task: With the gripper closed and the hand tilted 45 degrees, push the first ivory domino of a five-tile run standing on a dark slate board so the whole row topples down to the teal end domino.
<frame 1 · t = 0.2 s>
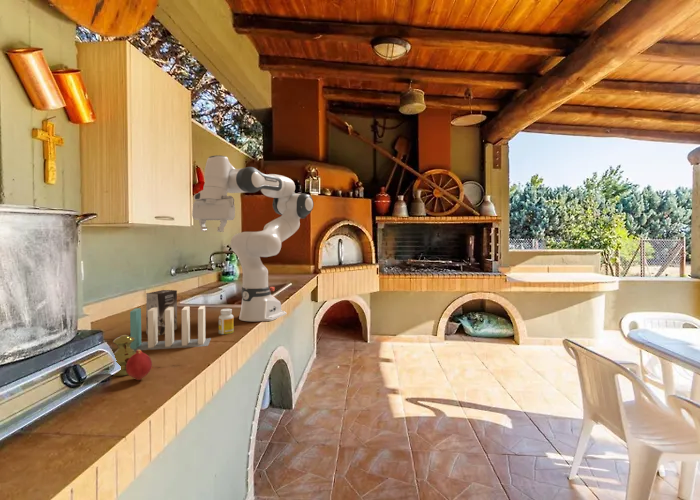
hand: (211, 231, 138), 39 cm above the counter, tool pointing down, fingers open, 8 cm apart
domino 1: (201, 342, 121), point 1 cm above the counter, touching slate board
slate board: (169, 347, 118), on the counter
olive waisted piece: (124, 372, 97), on the counter
supplement bottle: (226, 335, 134), on the counter
coffee box: (162, 334, 134), on the counter
domino 3: (169, 344, 118), point 1 cm above the counter, touching slate board
domino 5: (136, 346, 116), point 1 cm above the counter, touching slate board
domino 4: (153, 345, 117), point 1 cm above the counter, touching slate board
onion: (139, 380, 92), on the counter
domino 2: (185, 343, 120), point 1 cm above the counter, touching slate board
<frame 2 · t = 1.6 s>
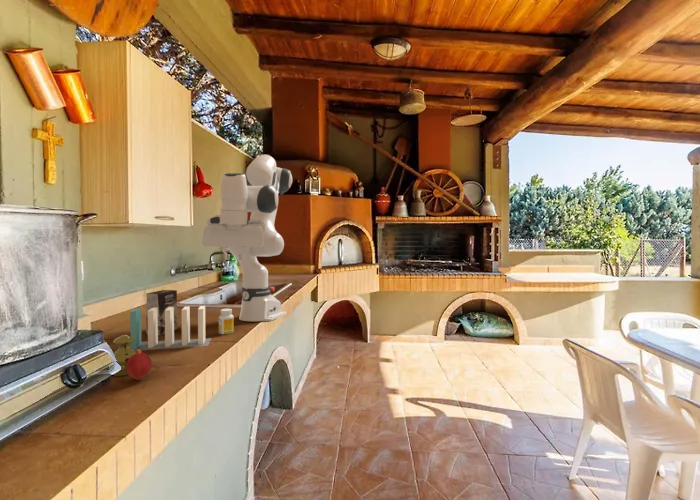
hand: (234, 259, 123), 29 cm above the counter, tool pointing down, fingers open, 3 cm apart
nothing on the counter moved.
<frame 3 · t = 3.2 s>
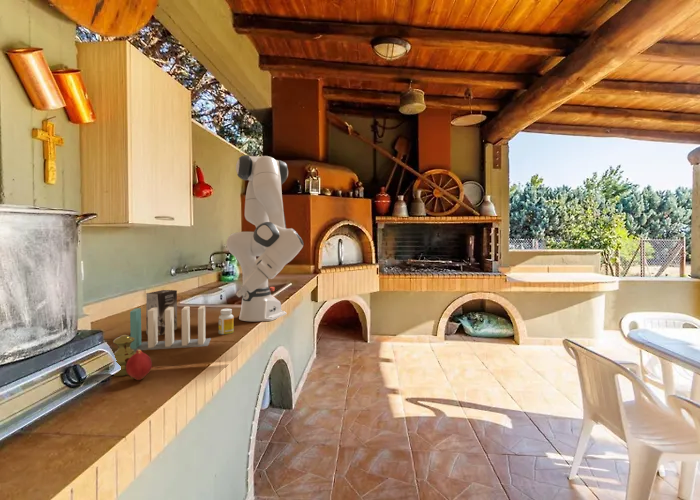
hand: (237, 295, 123), 17 cm above the counter, tool tilted 45°, fingers closed
nothing on the counter moved.
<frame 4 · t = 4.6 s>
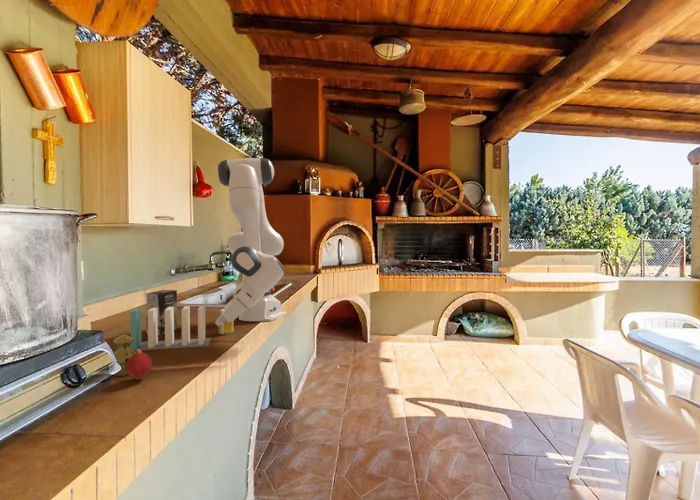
hand: (217, 323, 122), 7 cm above the counter, tool tilted 45°, fingers closed
nothing on the counter moved.
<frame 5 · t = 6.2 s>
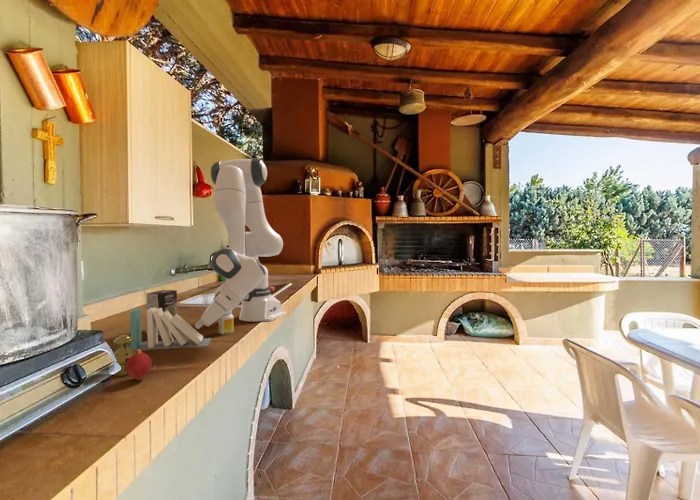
hand: (196, 326, 120), 6 cm above the counter, tool tilted 45°, fingers closed
domino 1: (200, 340, 121), point 2 cm above the counter, tilted 45°, touching domino 2
domino 3: (169, 343, 118), point 1 cm above the counter, tilted 18°, touching domino 2, slate board
domino 2: (185, 342, 120), point 1 cm above the counter, tilted 33°, touching domino 1, domino 3, slate board
everything else where it was.
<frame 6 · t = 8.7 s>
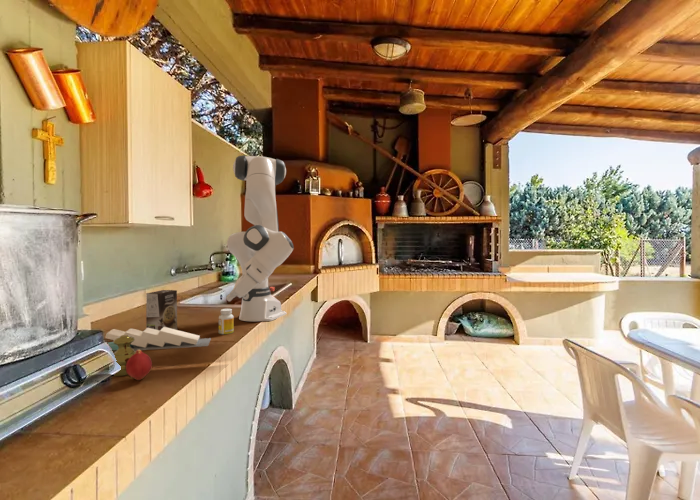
hand: (227, 299, 123), 15 cm above the counter, tool tilted 45°, fingers closed
domino 1: (198, 340, 121), point 2 cm above the counter, tilted 71°, touching domino 2
domino 3: (165, 342, 118), point 2 cm above the counter, tilted 71°, touching domino 2, domino 4, slate board
domino 5: (131, 343, 115), point 2 cm above the counter, tilted 95°, touching domino 4, slate board
domino 4: (148, 343, 117), point 2 cm above the counter, tilted 71°, touching domino 3, domino 5
domino 2: (182, 341, 119), point 2 cm above the counter, tilted 71°, touching domino 1, domino 3, slate board
everything else where it was.
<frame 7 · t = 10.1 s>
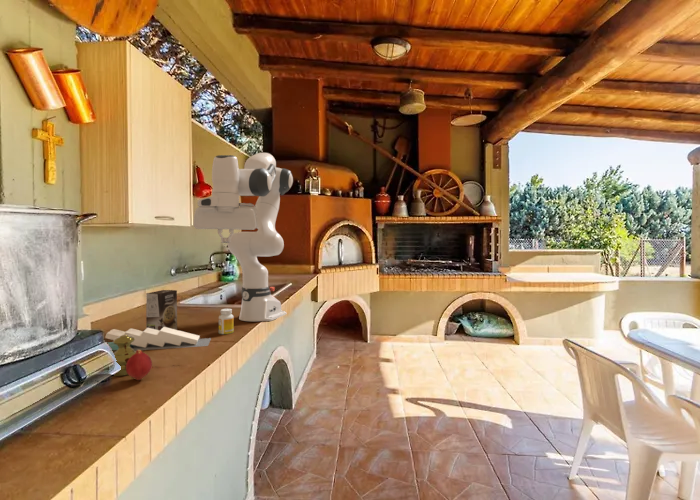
hand: (225, 242, 122), 35 cm above the counter, tool pointing down, fingers closed
nothing on the counter moved.
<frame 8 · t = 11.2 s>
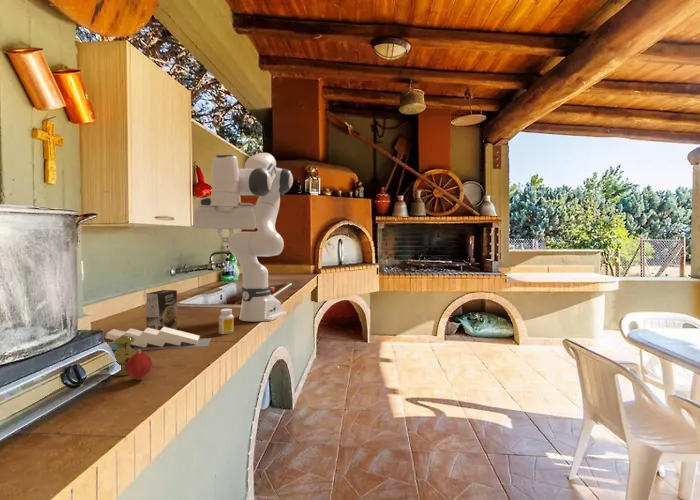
hand: (225, 242, 122), 35 cm above the counter, tool pointing down, fingers closed
nothing on the counter moved.
at the end: domino 5 tilted 95°; domino 3 tilted 71°; domino 1 tilted 71° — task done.
